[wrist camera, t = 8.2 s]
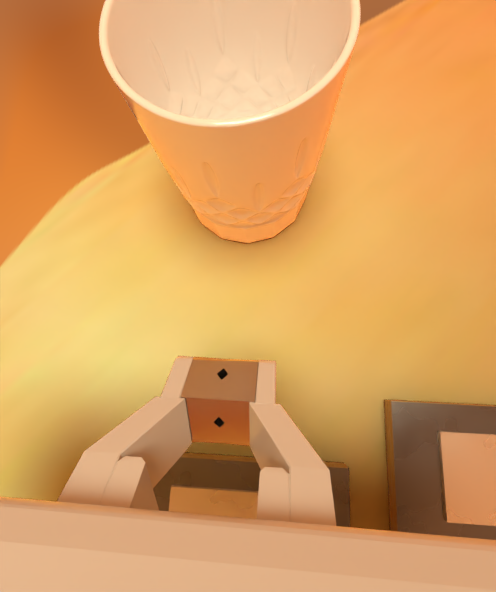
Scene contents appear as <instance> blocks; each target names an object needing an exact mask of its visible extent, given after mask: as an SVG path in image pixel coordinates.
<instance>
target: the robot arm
mask: <svg viewBox="0 0 496 592" xmlns="http://www.w3.org/2000/svg"><path fill="white" fill-rule="evenodd" d="M275 399H276V361H268V360H239V359H219V358H205V357H187V356H178V357H177V358H176V359H175V361H174V364H173V366H172V369H171V371H170V374H169V376H168V379H167V381H166V384H165V387H164V389H163V392H162V394H161V397H154V398H153V399H152V400H150V401H149V402H148V403H147V404H145V405H144V406H143V407H141V408H140V409H139V410H137V411H136V412H135V413H133V414H132V415H131V416H130V417H128V418H127V419H126V420H124V421H123V422H122V423H120V424H119V425H118V426H116V427H115V428H114V429H113V430H111V431H110V432H109V433H107V434H106V435H105V436H103V437H102V438H101V439H100V440H98V441H97V442H96V443H94V444H93V445H92V446H90V447H89V448H88V449H86V450H85V451H84V452H83V454H82V456H81V458H80V460H79V462H78V463H77V465H76V467H75V469H74V471H73V473H72V474H71V476H70V478H69V480H68V482H67V484H66V485H65V487H64V489H63V491H62V493H61V494H60V496H59V498H58V500H57V501H45V500H34V499H23V498H11V497H0V592H496V540H489V539H478V538H466V537H455V536H444V535H432V534H421V533H410V532H398V531H387V530H375V529H364V528H353V527H341V526H336V518H335V510H334V502H333V494H332V486H331V478H330V470H329V469H328V468H327V466H326V465H325V464H324V462H323V461H322V460H321V458H320V457H319V456H318V454H317V453H316V452H315V450H314V449H313V447H312V446H311V445H310V443H309V442H308V441H307V439H306V438H305V437H304V435H303V434H302V433H301V431H300V430H299V429H298V427H297V426H296V425H295V423H294V422H293V420H292V419H291V418H290V416H289V415H288V414H287V412H286V411H285V410H284V408H283V407H282V406H281V404H275ZM192 442H211V443H227V444H237V445H247V446H250V449H251V451H252V453H253V455H254V457H255V459H256V461H257V463H258V465H259V467H260V469H261V471H260V478H259V492H258V505H257V519H251V518H239V517H228V516H217V515H205V514H194V513H182V512H171V511H159V508H158V505H157V501H156V498H155V494H154V491H153V488H154V487H155V486H156V485H157V483H158V482H159V481H160V480H161V479H162V478H163V476H164V475H165V474H166V473H167V472H168V471H169V470H170V468H171V467H172V466H173V465H174V464H175V463H176V461H177V460H178V459H179V458H180V457H181V456H182V455H183V453H184V452H185V451H186V450H187V449H188V448H189V446H190V445H191V444H192Z"/></svg>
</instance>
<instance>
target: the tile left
mask: <svg viewBox="0 0 496 592" xmlns="http://www.w3.org/2000/svg"><path fill="white" fill-rule="evenodd" d="M323 462H324V464H325V465H326V466H327V468H328V469H329V470H330V478H331V486H332V494H333V502H334V510H335V518H336V526H341V527H350V493H349V468H348V467H347V465H346V464H345V463H340V462H325V461H323ZM260 471H261V469H260V467H259V465H258V463H257V461H256V459H255V457H248V456H233V455H217V454H202V453H187V452H184V453H183V455H182V456H181V457H180V458H179V459H178V460H177V461H176V463H175V464H174V465H173V466H172V467H171V468H170V470H169V471H168V472H167V473H166V474H165V475H164V476H163V478H162V479H161V480H160V481H159V482H158V483H157V485H156V486H155V487H154V488H153V491H154V494H155V498H156V501H157V505H158V508H159V511H171V512H182V513H194V514H205V515H217V516H228V517H239V518H251V519H257V505H258V492H259V478H260Z"/></svg>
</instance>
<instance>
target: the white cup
mask: <svg viewBox="0 0 496 592" xmlns="http://www.w3.org/2000/svg"><path fill="white" fill-rule="evenodd" d="M359 26H360V1H359V0H105V3H104V6H103V9H102V13H101V17H100V24H99V43H100V48H101V53H102V57H103V60H104V63H105V65H106V68H107V70H108V72H109V73H110V75H111V77H112V79H113V80H114V82H115V84H116V85H117V87H118V89H119V90H120V92H121V94H122V95H123V97H124V99H125V100H126V102H127V104H128V106H129V107H130V109H131V110H132V112H133V114H134V115H135V117H136V119H137V121H138V122H139V124H140V126H141V128H142V129H143V131H144V133H145V134H146V136H147V138H148V140H149V141H150V143H151V145H152V146H153V148H154V150H155V152H156V153H157V155H158V157H159V159H160V160H161V162H162V163H163V165H164V167H165V168H166V170H167V171H168V172H169V174H170V176H171V177H172V179H173V181H174V182H175V184H176V185H177V187H178V189H179V190H180V192H181V193H182V195H183V196H184V197H185V198H186V199H187V201H188V202H189V203H190V204H191V206H192V207H193V209H194V211H195V213H196V215H197V217H198V218H199V220H200V222H201V223H202V224H203V225H204V226H206V227H207V228H208V229H210V230H211V231H212V232H214V233H215V234H216V235H218V236H219V237H220V238H223V239H228V240H233V241H238V242H243V243H251V242H255V241H260V240H264V239H268V238H273V237H274V236H276V235H277V234H278V233H280V232H281V231H282V230H284V229H285V228H286V227H287V226H289V225H290V224H291V223H293V222H294V221H295V219H296V217H297V215H298V213H299V211H300V209H301V207H302V205H303V203H304V201H305V198H306V195H307V192H308V188H309V187H310V184H311V182H312V180H313V177H314V174H315V171H316V168H317V165H318V162H319V159H320V157H321V154H322V151H323V148H324V144H325V141H326V138H327V135H328V131H329V128H330V125H331V121H332V118H333V114H334V111H335V108H336V104H337V101H338V98H339V94H340V91H341V88H342V85H343V81H344V78H345V75H346V72H347V68H348V65H349V62H350V59H351V55H352V52H353V49H354V46H355V43H356V39H357V36H358V32H359Z"/></svg>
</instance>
